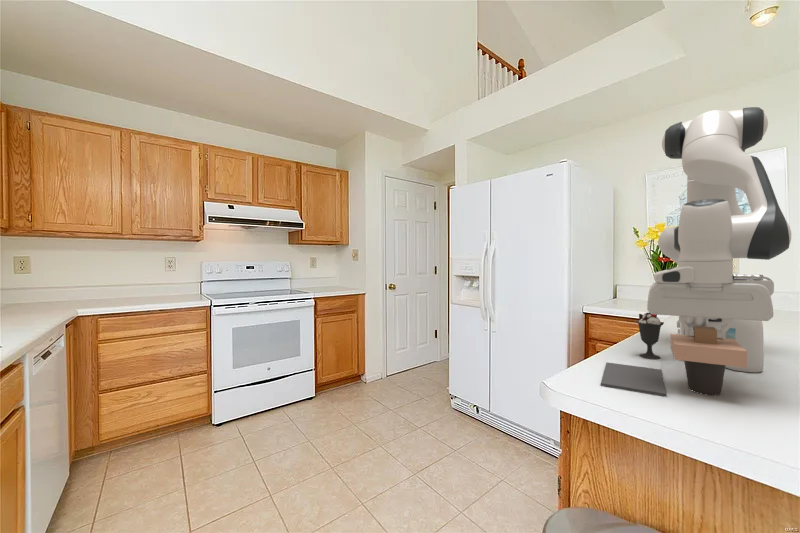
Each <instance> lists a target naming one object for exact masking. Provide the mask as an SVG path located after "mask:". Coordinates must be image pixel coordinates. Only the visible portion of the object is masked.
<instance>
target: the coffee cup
mask: <svg viewBox="0 0 800 533" xmlns="http://www.w3.org/2000/svg"><path fill="white" fill-rule="evenodd" d="M684 365H685V368H684V369H685V374H686V380H687V388H688V390H690V391H691V390H693V391H692V392H694V391H695V392H694V393H696V392H698V394H700V393H702V394H701V395H705V394H707V395H706V396H713V395H716V396H721V395H722V391H723V386H724V385H723V383H724V376H725V371H726V367H725V366H726V365H718V364H709V363H700V362H692V361H684ZM720 394H721V395H720Z"/></svg>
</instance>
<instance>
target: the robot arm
mask: <svg viewBox="0 0 800 533" xmlns="http://www.w3.org/2000/svg"><path fill="white" fill-rule="evenodd" d="M768 120H769V119H768V117H767V115H766V113H765V111H764V109H762V108H761V107H759V106H758V107H757V106H753V107H752V106H751V107H750V106H749V107H743V108H742V109H734V110H724V109H723V110H722V109H713V110H708V111H705V112H703V113H701V114H699V115H697V116H696V117H695V118H693V119H690V120H686V121H684V122H682V121H679V122H677V123H674V124H672V125H670V126H669V127H667V129H665V132H664V134H663V136H662V140H661V147H662V150H663V153H664V154H665V157H668V159H670V160H671V159H673V160H675V159H676V160H681V166H682V170H683V172H684V174H685V175H686V179H687V180H686V182H687V183H686V203H684V204H683V205H682V206H681V208H680V209H681V210H680V215H679V220H678V225H676V226H671V227H667V228H665V229H664V230H663V231H662V232H661V233H660V234H659V236H658V240H657V245H658V248H659V250H660V252H661V253H662V254H663V255H664V256H665V257H667V258H669V259H670V260H672V261H673V262H674V263H675V264H677V266H676V267H669V268H667V269H664V270H660V271H656V272H655V273H654V274H653V279H654V281H655V282H654V283H652V285H651V286H650V288H649V291H648V296H647V304H646V307H647V312H648V313H649V312H650V313H651V314H655V315H657V316H659V315H660V316H673V317H674V316H676V317H678V320H677V321H676V328H678V329H677V333H676V334H678V335H682V326H681V323H682V325H683V326H684V328H685V336H686V337H695V334H694V333H695V330H694V328H689V327H688V326H687V324H686V323H685V322H684V321H688V317H705V318H708V327H714V328H715V329H716V330H717V339H720V340H725V338H726V332H727V331H728V329H729V328H730V327H731V326H732V325H733V319H739V320H756V321H762V322H768V321H770V320H771V319H773V318H774V306H773V301H772V295H773V294H774V292H775V284H774V281H773V280H772V279H771V278H770V277H767V276H764V275H763V274H740V273H739V274H735V273H734V266H733V265H734V259H749V260H765V261H766V260H771V259H774V258H776V257H777V256H779V255H781V254H783V253H784V252H786V251H787V250H788V249H790V244H791V243H792V242H791V241H792V230H791V226H790V225H789V222H788V221H787V220H786V218H785V216H784V213H783V212H782V210H781V208H780V205H779V203H778V199H777V197H776V194H775V192H774V189H773V186H772V183H771V181H770V178H769V176H768V174H767V171H766V168H765V166H764V165H763V163H762V161H761V160H760V158H759V157H758V156H754V155H749V154H748V153H746V150H747V149H750V148H752V147H754V146H756V145H758V143H759V142H761V141H762V139H763V137H764V135H766V132H767V130H768V126H769V121H768ZM736 189H738V190H741V191H743V193H744V194H745V195H746V198H747V202H748V205H749V208H750V211H751V212H750V213H747V214H745V213H744V212H743V211H742V209H741V208H740V206H739V203H738V200H737V192H736ZM722 322H723V323H724V325H723V326H722V328H721V323H722Z"/></svg>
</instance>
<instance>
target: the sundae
mask: <svg viewBox="0 0 800 533" xmlns="http://www.w3.org/2000/svg"><path fill="white" fill-rule="evenodd" d="M657 316H658V315H655V314H651V313H650V312H649V311H648V312H645V313H644V314H642V313H638V320H635V323H637V324H638V329H639V334H640V339H641V341H642V342H643V343H644V344H645V345H646V347H647V348H646V352H645V353H640V354H639V357H641V358H643V359H649V360H659V359H661V357H660V356H659V355H656V354H655V353H653V352H654V351H653V345H655V344H656V343H658V342H659V338H660V332H661V327H662V326H663V325H664V324H665V322H663V321H661V320H660V318H659V317H657Z"/></svg>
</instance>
